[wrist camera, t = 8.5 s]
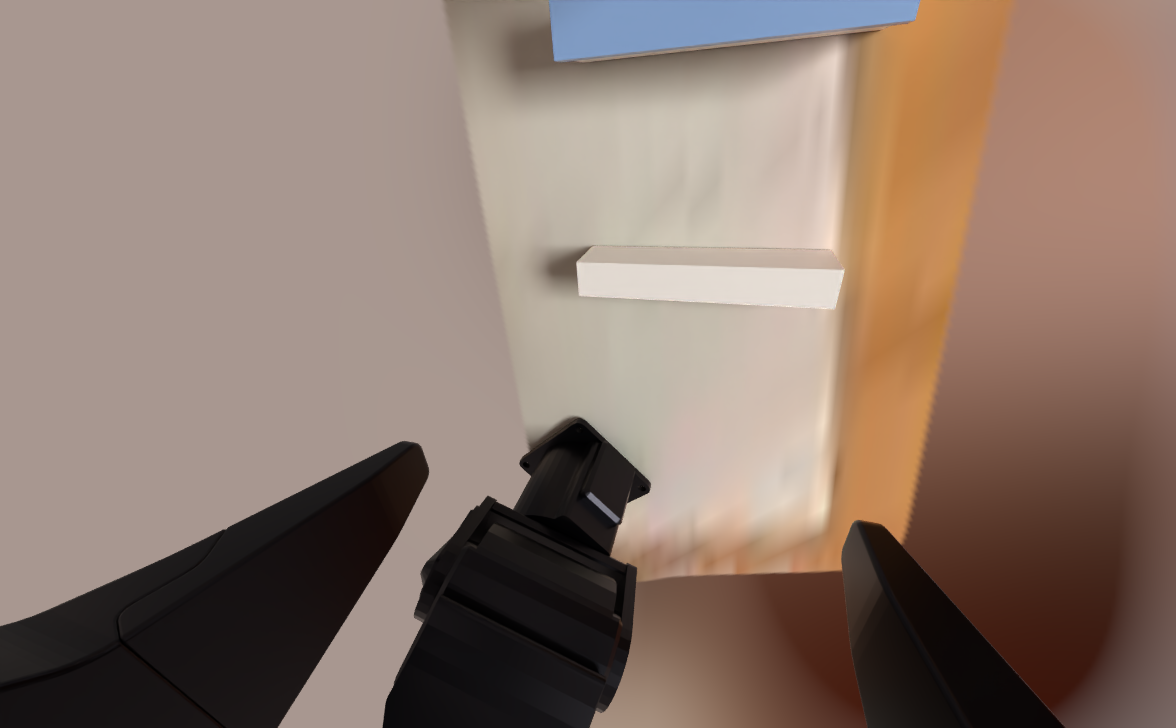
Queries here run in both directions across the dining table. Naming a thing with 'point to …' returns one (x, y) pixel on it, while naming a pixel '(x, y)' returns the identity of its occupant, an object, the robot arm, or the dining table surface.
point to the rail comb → (695, 22)
